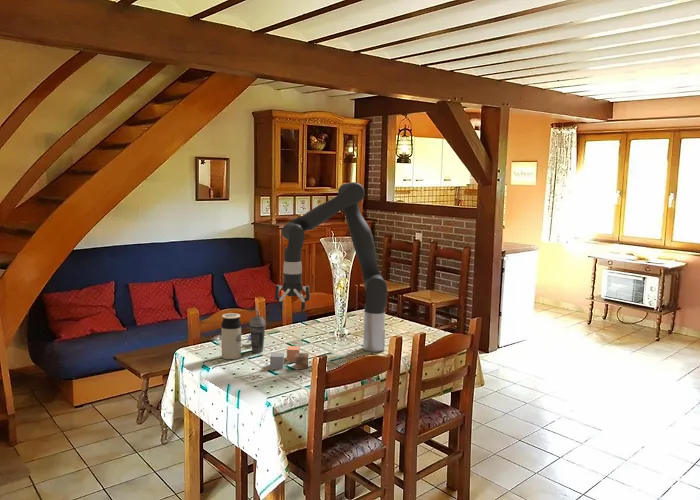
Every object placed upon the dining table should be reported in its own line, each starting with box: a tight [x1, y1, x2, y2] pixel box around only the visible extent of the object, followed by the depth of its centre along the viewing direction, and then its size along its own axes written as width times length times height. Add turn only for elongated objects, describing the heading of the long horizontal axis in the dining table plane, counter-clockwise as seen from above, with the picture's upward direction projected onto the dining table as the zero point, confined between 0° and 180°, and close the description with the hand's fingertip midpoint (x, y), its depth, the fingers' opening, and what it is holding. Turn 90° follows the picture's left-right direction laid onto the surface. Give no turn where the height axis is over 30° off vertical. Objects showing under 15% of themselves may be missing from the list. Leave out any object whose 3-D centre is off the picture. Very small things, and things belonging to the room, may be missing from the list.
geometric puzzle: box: [246, 332, 251, 343], centre depth 258 cm, size 7×7×8 cm
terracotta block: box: [286, 345, 301, 362], centre depth 240 cm, size 5×5×5 cm
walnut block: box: [294, 352, 309, 370], centre depth 232 cm, size 5×5×5 cm
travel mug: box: [220, 312, 242, 360], centre depth 240 cm, size 8×8×18 cm
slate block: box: [269, 352, 285, 370], centre depth 231 cm, size 5×5×5 cm
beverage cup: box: [248, 305, 267, 354], centre depth 248 cm, size 7×7×20 cm
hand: (292, 310), depth 239 cm, fingers open, 8 cm apart
